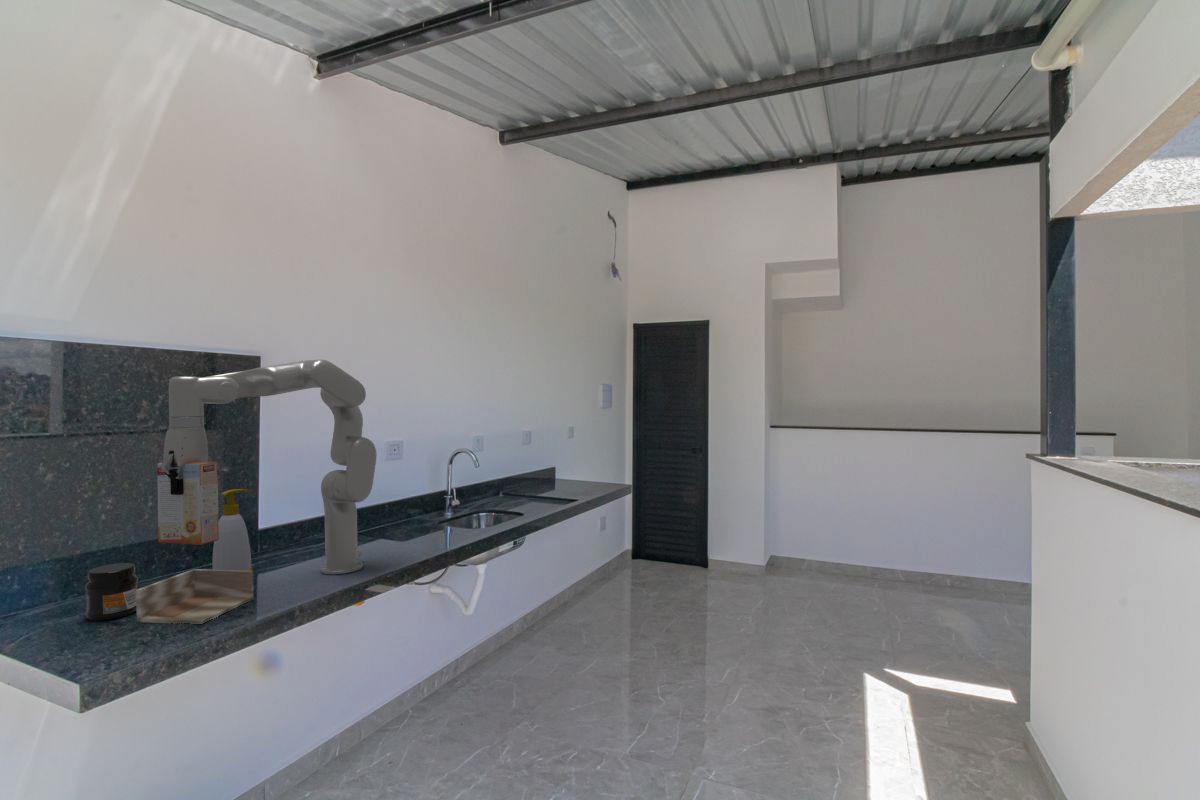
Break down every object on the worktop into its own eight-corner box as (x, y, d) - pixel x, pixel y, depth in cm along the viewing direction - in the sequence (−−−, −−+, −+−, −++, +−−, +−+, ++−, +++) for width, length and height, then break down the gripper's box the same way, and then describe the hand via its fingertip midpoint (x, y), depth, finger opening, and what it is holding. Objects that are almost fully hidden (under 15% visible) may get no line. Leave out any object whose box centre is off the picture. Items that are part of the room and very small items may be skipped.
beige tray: (194, 597, 171) (193, 568, 171) (253, 600, 168) (252, 570, 168) (136, 621, 153) (136, 589, 153) (202, 624, 150) (201, 592, 150)
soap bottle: (259, 572, 194) (257, 489, 194) (217, 581, 185) (216, 494, 185) (246, 566, 201) (244, 486, 201) (206, 574, 193) (204, 490, 192)
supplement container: (141, 614, 158) (140, 567, 158) (88, 625, 151) (87, 576, 151) (135, 604, 166) (134, 560, 166) (84, 614, 159) (82, 568, 158)
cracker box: (220, 540, 162) (218, 461, 162) (200, 546, 157) (198, 463, 156) (178, 537, 166) (177, 460, 166) (157, 543, 160) (155, 462, 160)
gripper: (199, 422, 170) (200, 487, 170) (145, 425, 153) (146, 497, 153) (224, 422, 169) (225, 487, 169) (172, 425, 152) (173, 498, 152)
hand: (188, 491), depth 161 cm, fingers closed on cracker box, 6 cm apart
